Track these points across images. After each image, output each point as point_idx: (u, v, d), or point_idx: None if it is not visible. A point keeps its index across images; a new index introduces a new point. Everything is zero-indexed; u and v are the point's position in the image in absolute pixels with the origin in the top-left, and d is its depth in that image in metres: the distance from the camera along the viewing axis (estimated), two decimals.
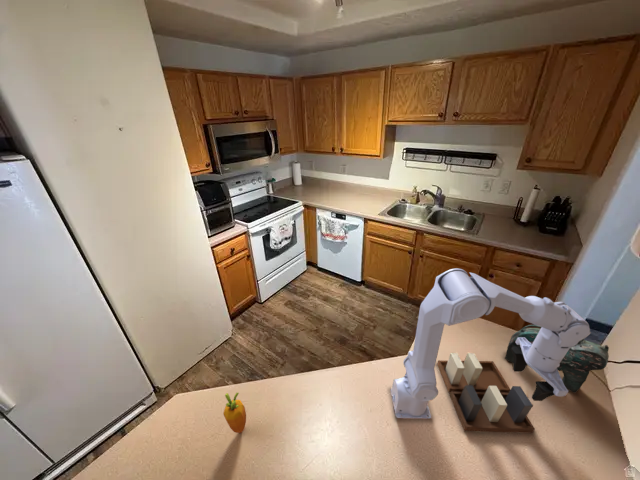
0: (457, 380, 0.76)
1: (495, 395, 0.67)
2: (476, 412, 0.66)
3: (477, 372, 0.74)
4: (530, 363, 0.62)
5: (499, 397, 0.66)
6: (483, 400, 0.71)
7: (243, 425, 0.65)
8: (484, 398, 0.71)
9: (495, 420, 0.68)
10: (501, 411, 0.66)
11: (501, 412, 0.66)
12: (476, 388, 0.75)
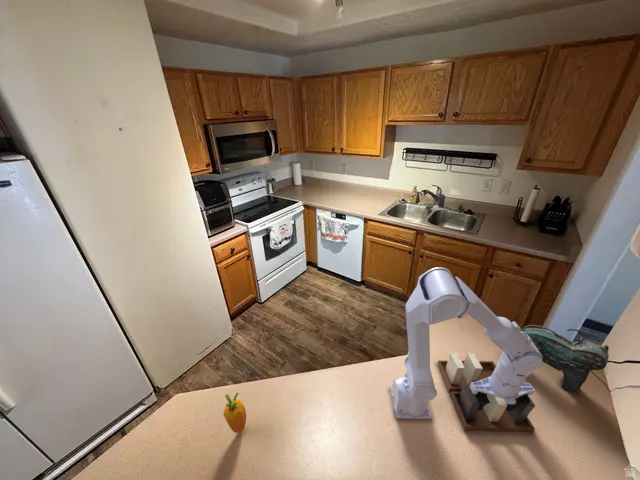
0: (457, 380, 0.76)
1: None
2: (475, 412, 0.66)
3: (477, 372, 0.74)
4: None
5: None
6: None
7: (243, 425, 0.65)
8: None
9: (495, 420, 0.68)
10: (501, 411, 0.66)
11: (501, 412, 0.66)
12: None
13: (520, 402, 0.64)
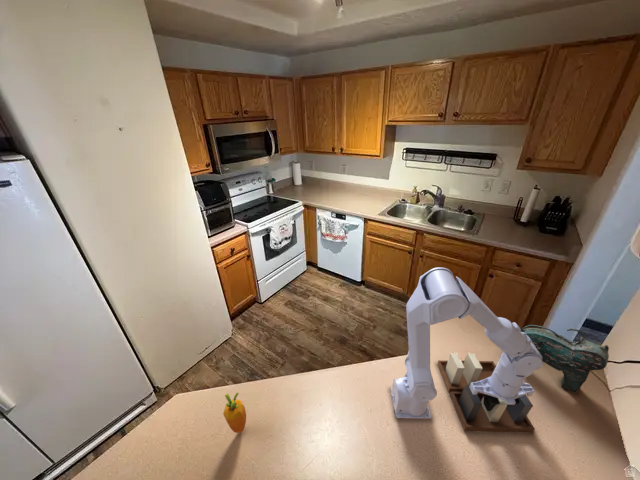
0: (457, 380, 0.76)
1: None
2: (476, 412, 0.66)
3: (477, 372, 0.74)
4: None
5: None
6: (483, 400, 0.71)
7: (243, 425, 0.65)
8: None
9: (495, 420, 0.68)
10: (501, 411, 0.66)
11: (501, 412, 0.66)
12: None
13: None
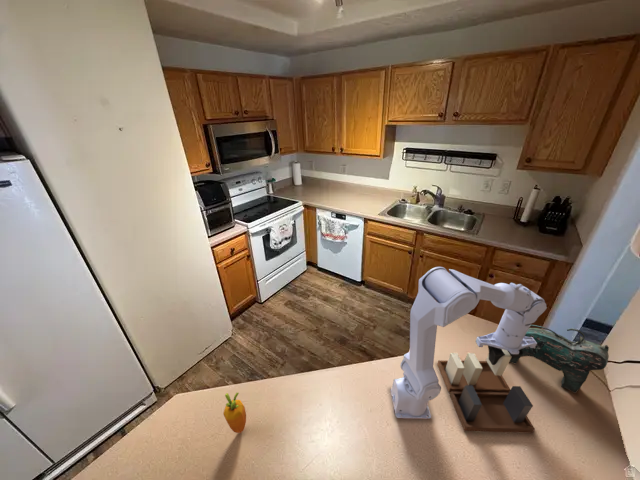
0: (457, 380, 0.76)
1: None
2: (476, 412, 0.66)
3: (477, 372, 0.74)
4: None
5: (504, 350, 0.70)
6: (488, 356, 0.75)
7: (243, 425, 0.65)
8: None
9: (500, 373, 0.72)
10: (506, 363, 0.70)
11: (506, 365, 0.70)
12: (476, 388, 0.75)
13: (513, 354, 0.68)
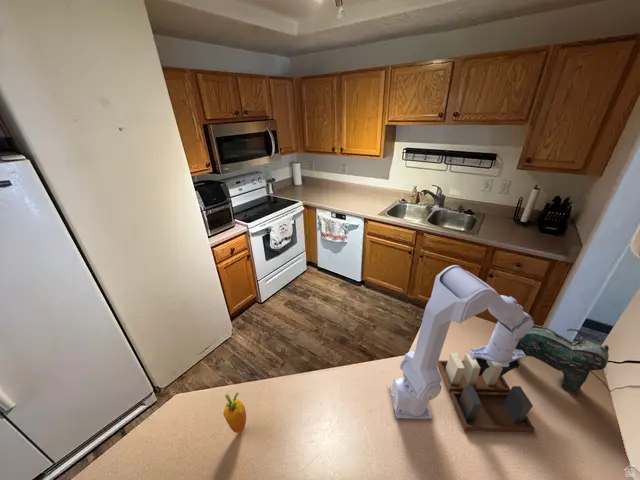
0: (457, 380, 0.76)
1: (492, 361, 0.75)
2: (476, 412, 0.66)
3: (476, 371, 0.74)
4: None
5: (495, 362, 0.75)
6: None
7: (243, 425, 0.65)
8: None
9: (492, 383, 0.76)
10: (497, 374, 0.74)
11: (497, 376, 0.75)
12: (476, 388, 0.75)
13: (510, 366, 0.72)
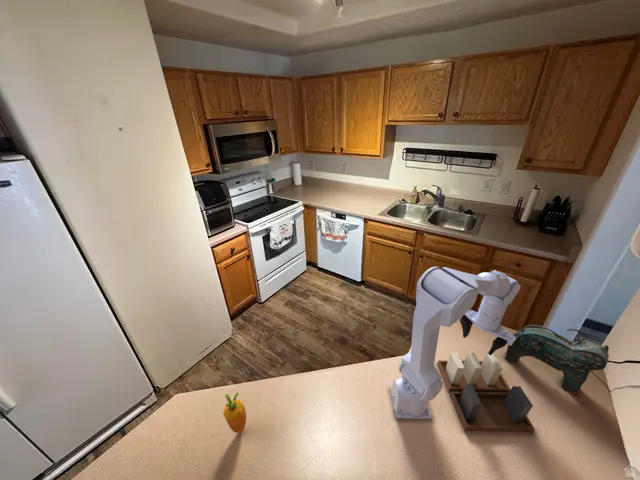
0: (457, 380, 0.76)
1: (492, 361, 0.75)
2: (476, 412, 0.66)
3: (477, 372, 0.74)
4: (483, 328, 0.72)
5: (495, 362, 0.75)
6: None
7: (243, 425, 0.65)
8: (482, 365, 0.79)
9: (492, 383, 0.76)
10: (497, 374, 0.74)
11: (497, 376, 0.75)
12: (476, 388, 0.75)
13: None
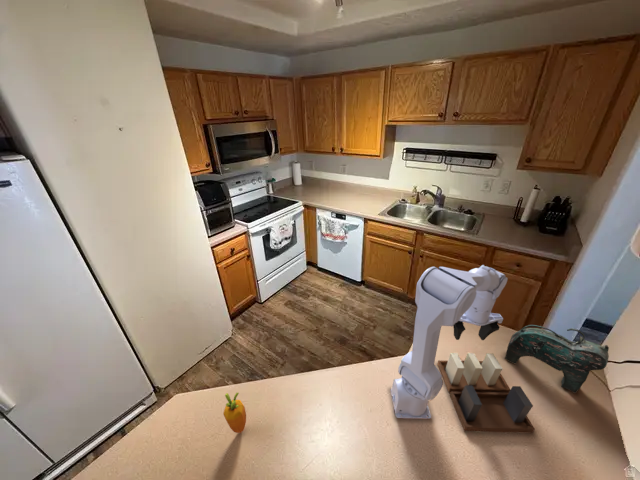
0: (457, 380, 0.76)
1: (492, 361, 0.75)
2: (476, 412, 0.66)
3: (477, 372, 0.74)
4: (483, 323, 0.74)
5: (495, 362, 0.75)
6: None
7: (243, 425, 0.65)
8: (482, 365, 0.79)
9: (492, 383, 0.76)
10: (497, 374, 0.74)
11: (497, 376, 0.75)
12: (476, 388, 0.75)
13: None
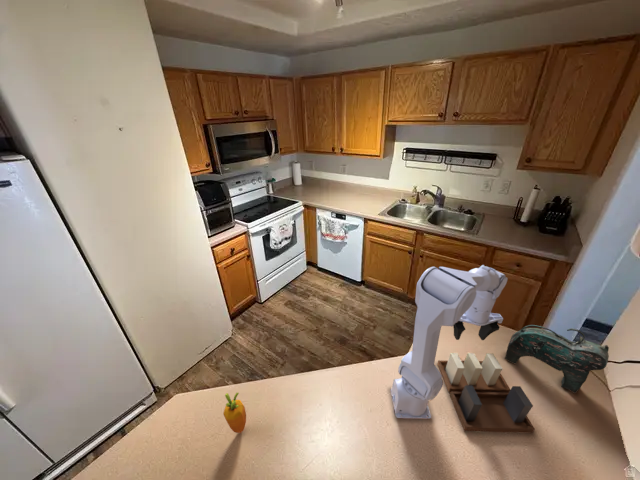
0: (457, 380, 0.76)
1: (492, 361, 0.75)
2: (476, 412, 0.66)
3: (477, 372, 0.74)
4: (483, 323, 0.74)
5: (495, 362, 0.75)
6: None
7: (243, 425, 0.65)
8: (482, 365, 0.79)
9: (492, 383, 0.76)
10: (497, 374, 0.74)
11: (497, 376, 0.75)
12: (476, 388, 0.75)
13: None
